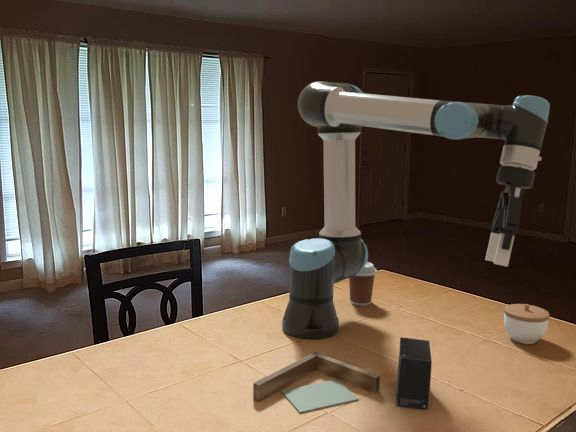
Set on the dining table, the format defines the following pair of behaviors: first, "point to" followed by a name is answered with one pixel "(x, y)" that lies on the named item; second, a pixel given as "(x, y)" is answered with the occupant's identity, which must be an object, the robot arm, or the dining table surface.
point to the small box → (414, 373)
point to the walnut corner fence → (307, 367)
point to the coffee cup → (362, 285)
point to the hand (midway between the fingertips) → (495, 263)
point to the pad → (319, 395)
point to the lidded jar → (525, 322)
